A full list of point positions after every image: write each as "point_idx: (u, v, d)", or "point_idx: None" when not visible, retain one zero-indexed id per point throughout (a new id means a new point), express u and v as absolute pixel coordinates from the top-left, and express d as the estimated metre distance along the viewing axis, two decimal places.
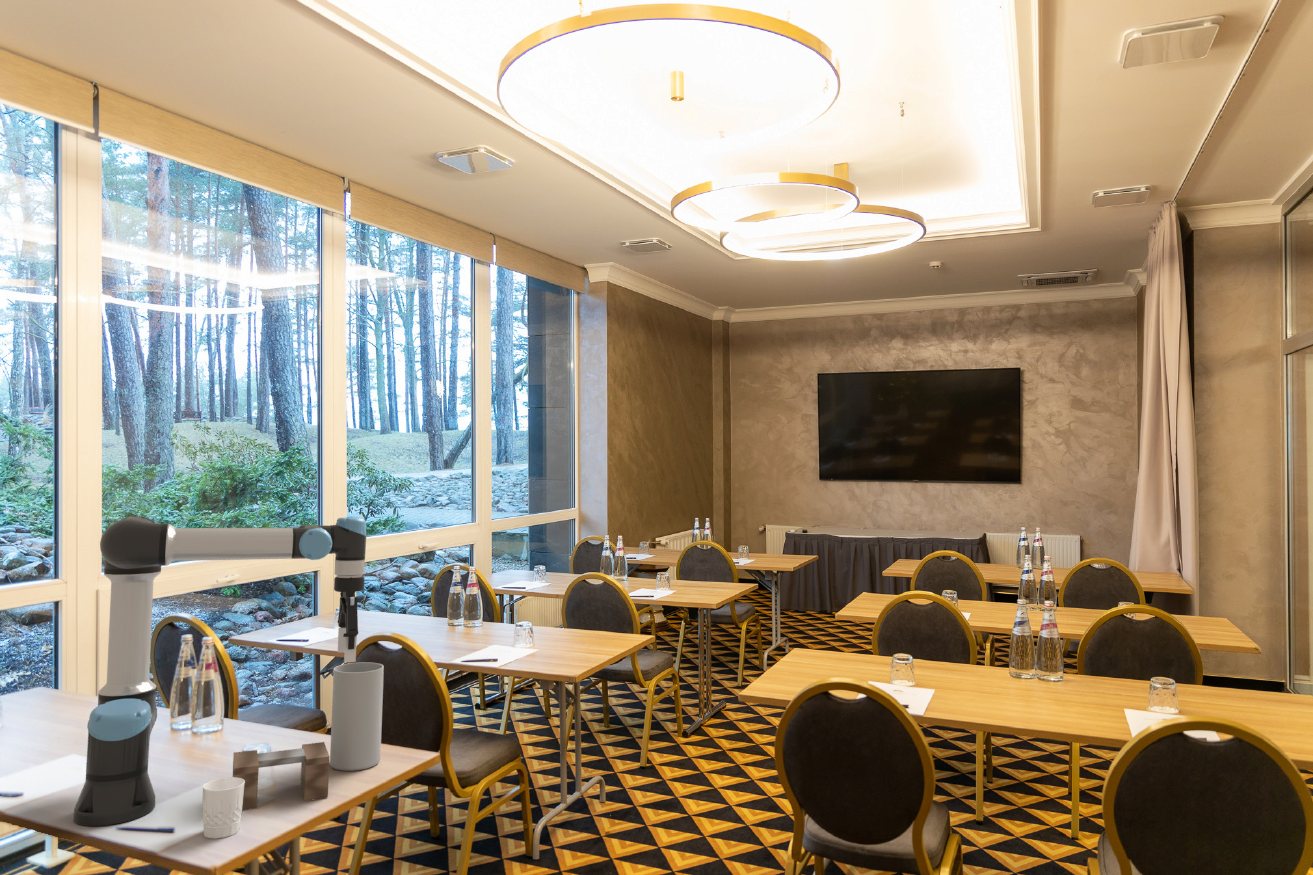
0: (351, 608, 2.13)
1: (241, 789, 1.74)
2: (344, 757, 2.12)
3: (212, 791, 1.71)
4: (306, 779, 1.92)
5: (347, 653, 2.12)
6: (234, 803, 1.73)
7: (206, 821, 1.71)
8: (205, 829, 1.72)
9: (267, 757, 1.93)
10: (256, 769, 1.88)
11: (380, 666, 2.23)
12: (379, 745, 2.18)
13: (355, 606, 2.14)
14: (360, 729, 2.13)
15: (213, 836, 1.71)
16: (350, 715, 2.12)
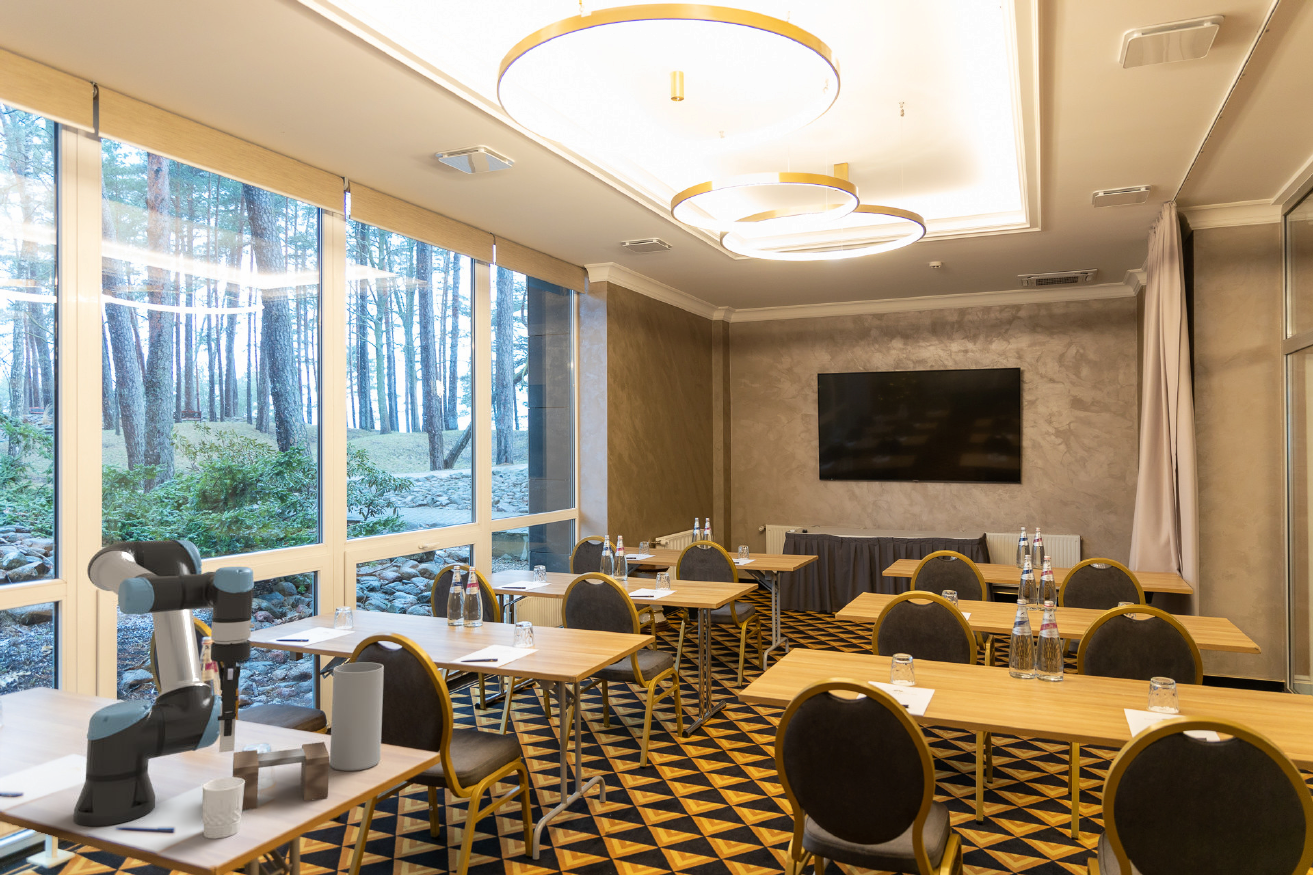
0: (228, 683, 1.70)
1: (241, 789, 1.74)
2: (344, 757, 2.12)
3: (212, 791, 1.71)
4: (306, 779, 1.92)
5: (223, 740, 1.69)
6: (234, 803, 1.73)
7: (206, 821, 1.71)
8: (205, 829, 1.72)
9: (267, 757, 1.93)
10: (256, 769, 1.88)
11: (380, 666, 2.23)
12: (379, 745, 2.18)
13: (234, 681, 1.70)
14: (360, 729, 2.13)
15: (213, 836, 1.71)
16: (350, 715, 2.12)
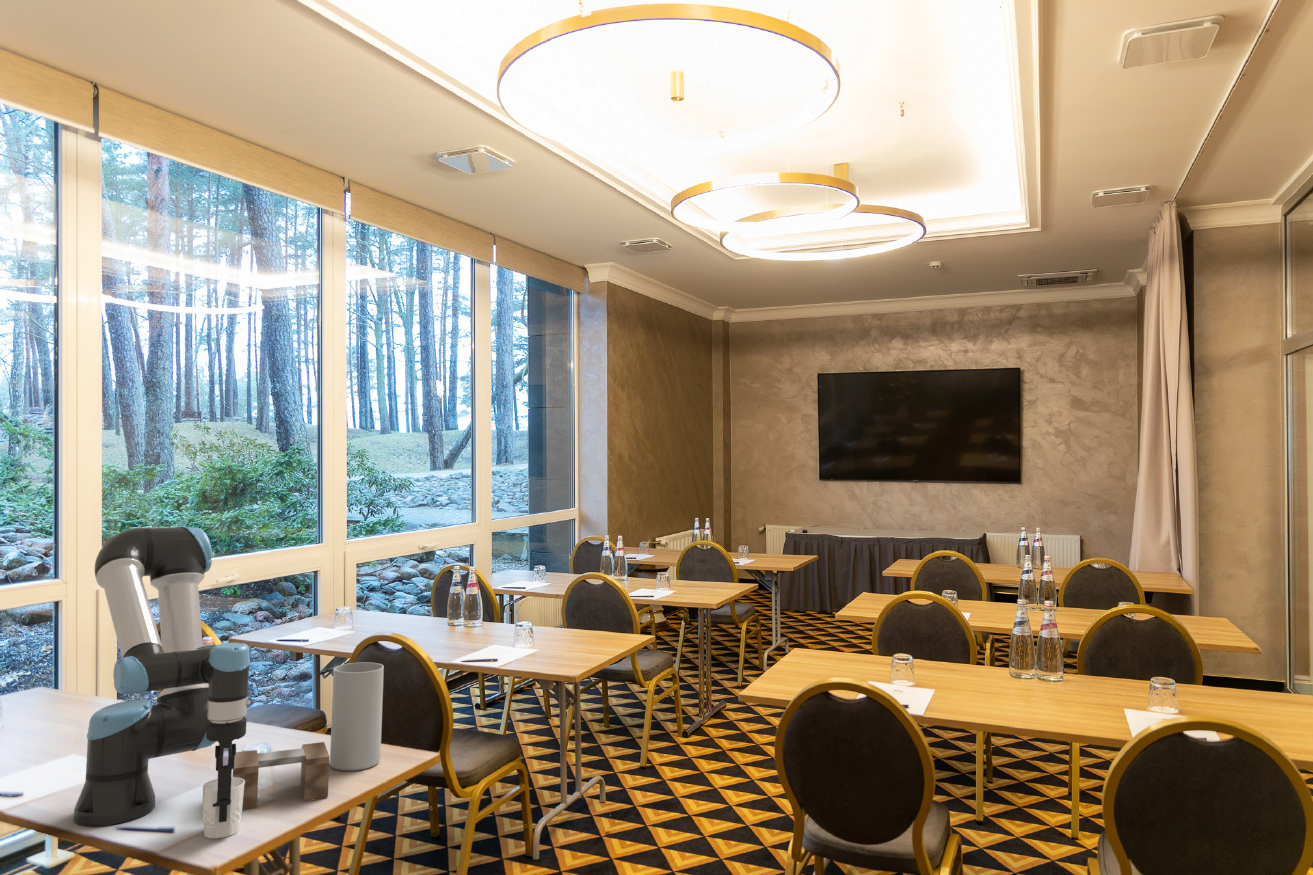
0: (223, 770, 1.69)
1: (241, 789, 1.74)
2: (344, 757, 2.12)
3: (212, 791, 1.71)
4: (306, 779, 1.92)
5: (218, 826, 1.70)
6: (234, 803, 1.73)
7: (206, 821, 1.71)
8: (205, 829, 1.72)
9: (267, 757, 1.93)
10: (256, 769, 1.88)
11: (380, 666, 2.23)
12: (379, 745, 2.18)
13: (229, 767, 1.70)
14: (360, 729, 2.13)
15: (213, 836, 1.71)
16: (350, 715, 2.12)
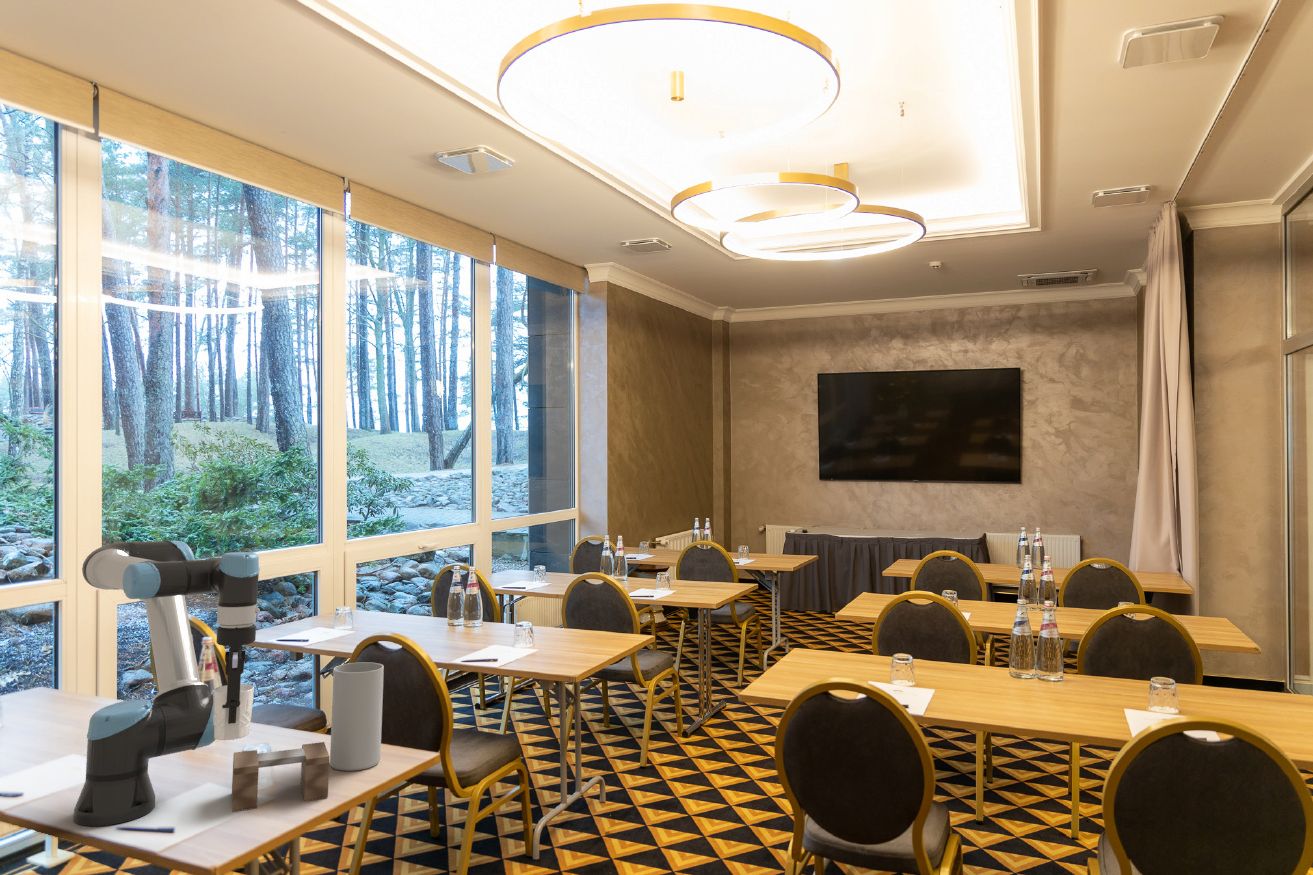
0: (233, 672, 1.72)
1: (250, 694, 1.77)
2: (344, 757, 2.12)
3: (222, 694, 1.74)
4: (306, 779, 1.92)
5: (228, 727, 1.73)
6: (243, 706, 1.76)
7: (216, 723, 1.74)
8: (215, 731, 1.75)
9: (267, 757, 1.93)
10: (256, 769, 1.88)
11: (380, 666, 2.23)
12: (379, 745, 2.18)
13: (238, 669, 1.73)
14: (360, 729, 2.13)
15: (223, 738, 1.74)
16: (350, 715, 2.12)
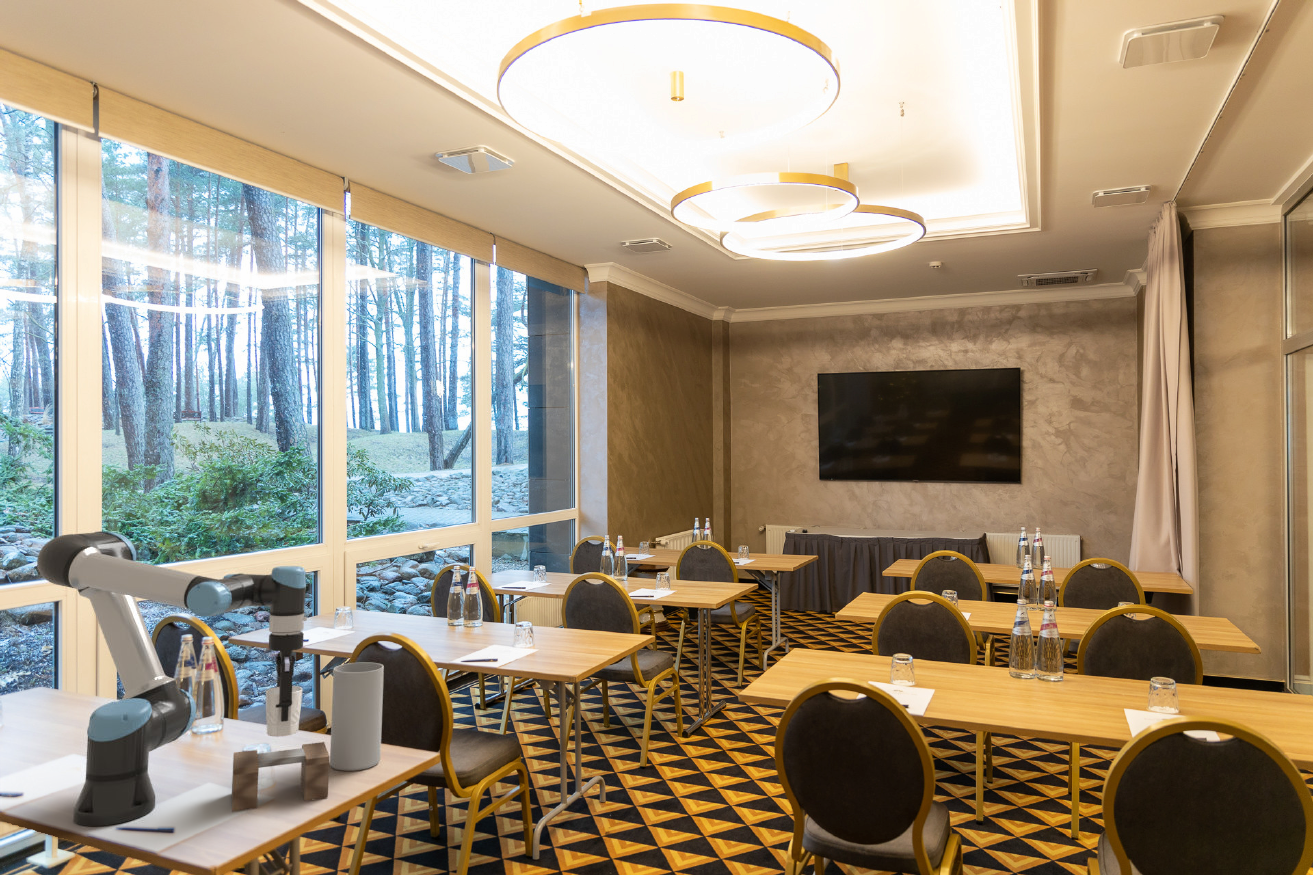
0: (285, 675, 1.91)
1: (299, 694, 1.96)
2: (344, 757, 2.12)
3: (275, 694, 1.92)
4: (306, 779, 1.92)
5: (280, 725, 1.92)
6: (294, 706, 1.94)
7: (269, 721, 1.93)
8: (268, 728, 1.93)
9: (267, 757, 1.93)
10: (256, 769, 1.88)
11: (380, 666, 2.23)
12: (379, 745, 2.18)
13: (290, 672, 1.91)
14: (360, 729, 2.13)
15: (276, 734, 1.92)
16: (350, 715, 2.12)
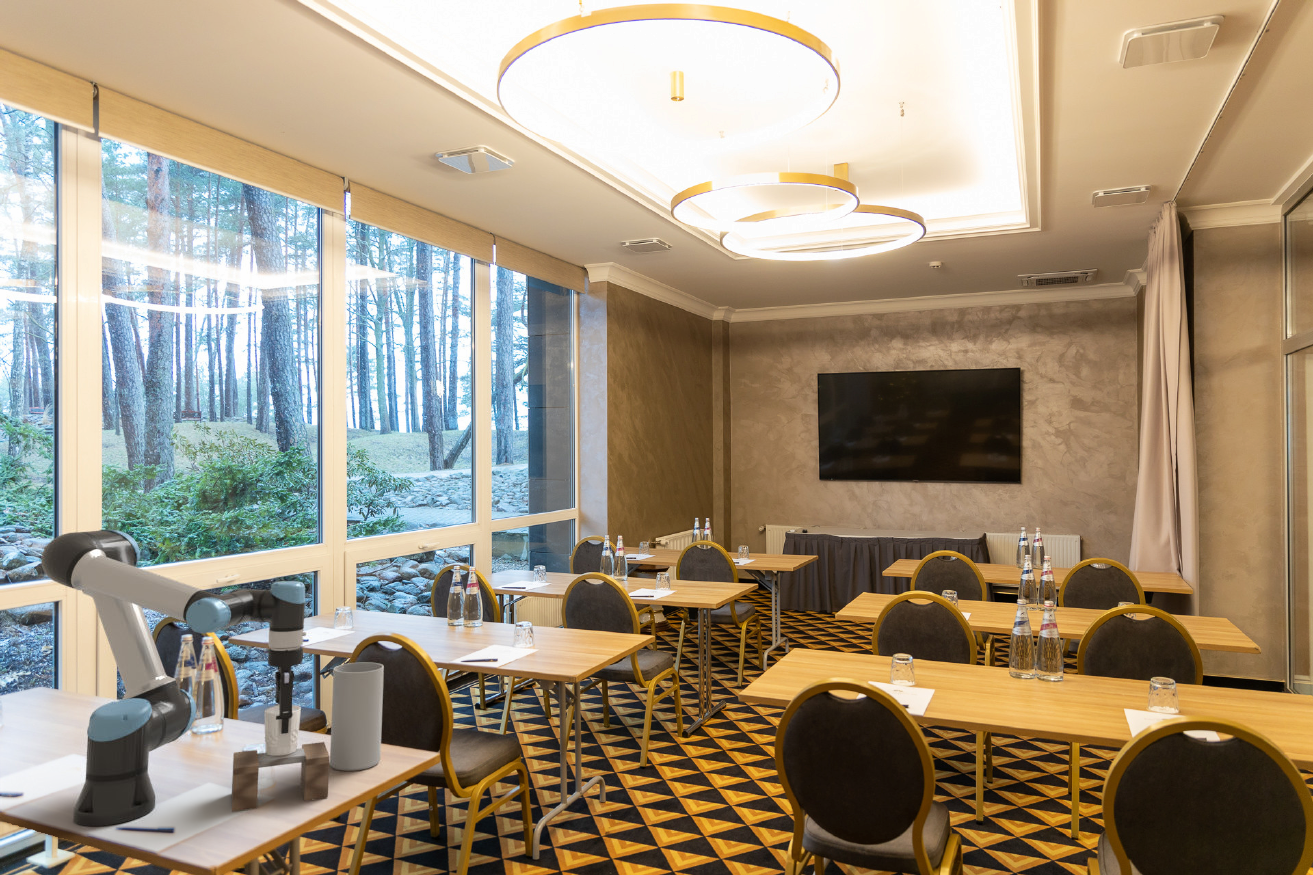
0: (285, 686, 1.90)
1: (298, 714, 1.98)
2: (344, 757, 2.12)
3: (274, 714, 1.94)
4: (306, 779, 1.92)
5: (281, 737, 1.89)
6: (293, 725, 1.96)
7: (268, 741, 1.95)
8: (267, 748, 1.95)
9: (267, 757, 1.93)
10: (256, 769, 1.88)
11: (380, 666, 2.23)
12: (379, 745, 2.18)
13: (290, 684, 1.91)
14: (360, 729, 2.13)
15: (275, 754, 1.94)
16: (350, 715, 2.12)
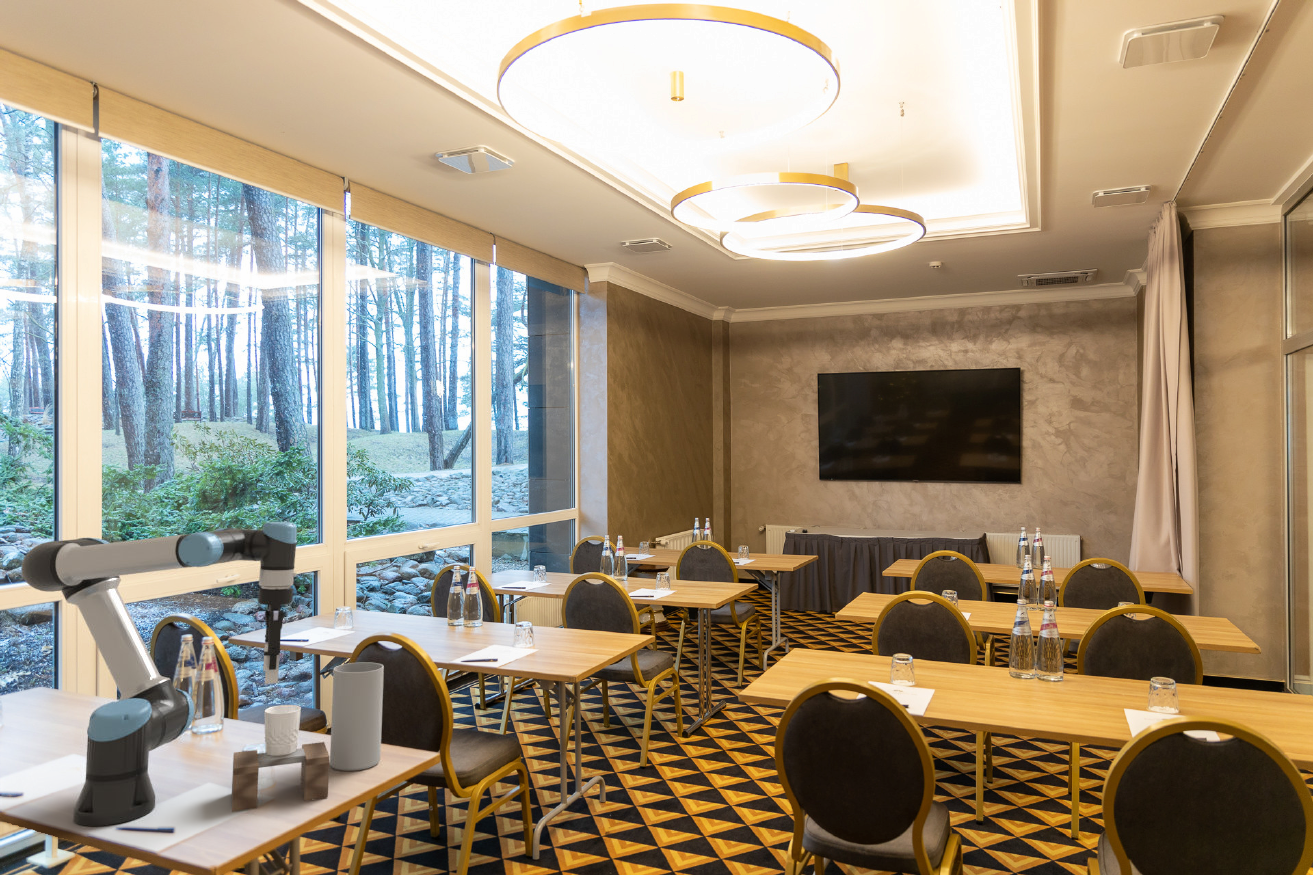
0: (274, 623, 1.92)
1: (298, 714, 1.98)
2: (344, 757, 2.12)
3: (274, 714, 1.94)
4: (306, 779, 1.92)
5: (268, 673, 1.91)
6: (293, 725, 1.96)
7: (268, 741, 1.95)
8: (267, 748, 1.95)
9: (267, 757, 1.93)
10: (256, 769, 1.88)
11: (380, 666, 2.23)
12: (379, 745, 2.18)
13: (279, 621, 1.92)
14: (360, 729, 2.13)
15: (275, 754, 1.94)
16: (350, 715, 2.12)
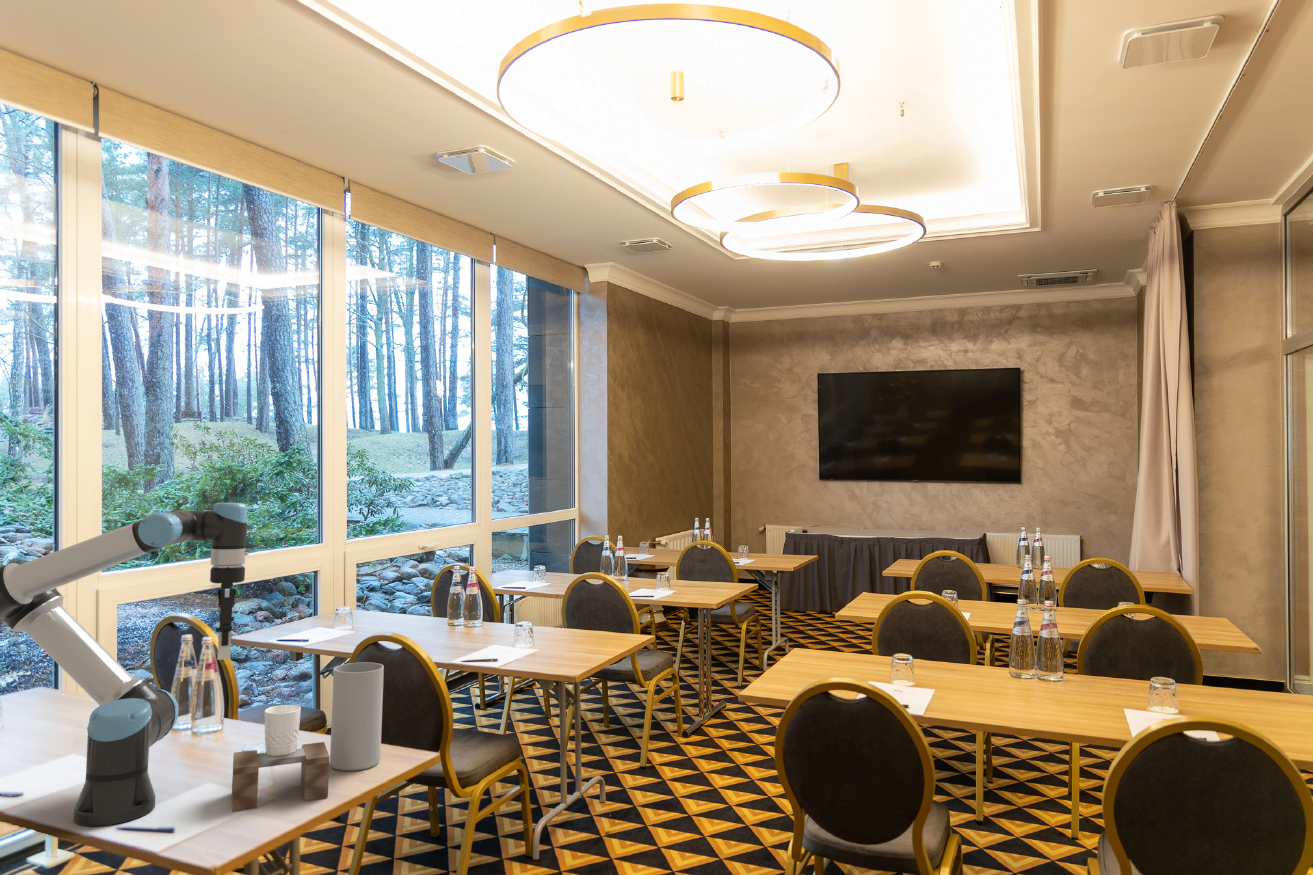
0: (225, 601, 1.96)
1: (298, 714, 1.98)
2: (344, 757, 2.12)
3: (274, 714, 1.94)
4: (306, 779, 1.92)
5: (221, 649, 1.95)
6: (293, 725, 1.96)
7: (268, 741, 1.95)
8: (267, 748, 1.95)
9: (267, 757, 1.93)
10: (256, 769, 1.88)
11: (380, 666, 2.23)
12: (379, 745, 2.18)
13: (230, 598, 1.96)
14: (360, 729, 2.13)
15: (275, 754, 1.94)
16: (350, 715, 2.12)
